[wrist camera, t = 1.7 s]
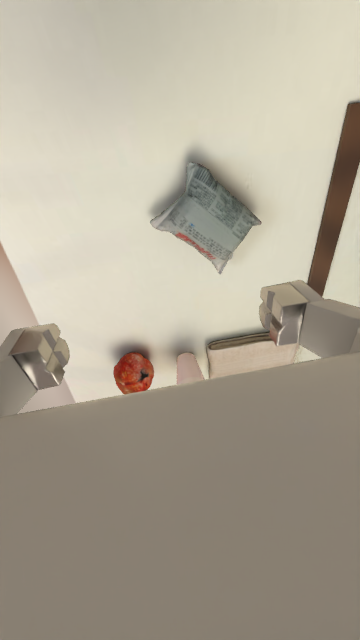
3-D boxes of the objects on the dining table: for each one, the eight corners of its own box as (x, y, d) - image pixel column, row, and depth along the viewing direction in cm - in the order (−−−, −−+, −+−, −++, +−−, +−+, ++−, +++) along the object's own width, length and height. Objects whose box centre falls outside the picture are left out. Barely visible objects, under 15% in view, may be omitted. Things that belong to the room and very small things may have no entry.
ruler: (347, 104, 28) (350, 103, 27) (373, 100, 28) (377, 99, 27) (301, 308, 45) (303, 309, 44) (317, 305, 45) (319, 306, 45)
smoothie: (164, 356, 48) (170, 423, 37) (194, 342, 47) (210, 408, 36) (179, 374, 52) (189, 440, 40) (207, 362, 50) (225, 427, 39)
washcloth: (288, 366, 55) (295, 377, 52) (208, 381, 54) (211, 393, 52) (297, 324, 47) (306, 335, 45) (204, 341, 47) (208, 353, 44)
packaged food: (214, 266, 38) (223, 281, 34) (148, 219, 32) (149, 230, 28) (256, 216, 34) (271, 227, 30) (189, 154, 29) (197, 157, 25)
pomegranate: (138, 368, 52) (173, 374, 46) (117, 398, 48) (151, 409, 41) (117, 344, 49) (151, 346, 42) (92, 374, 45) (125, 382, 38)
